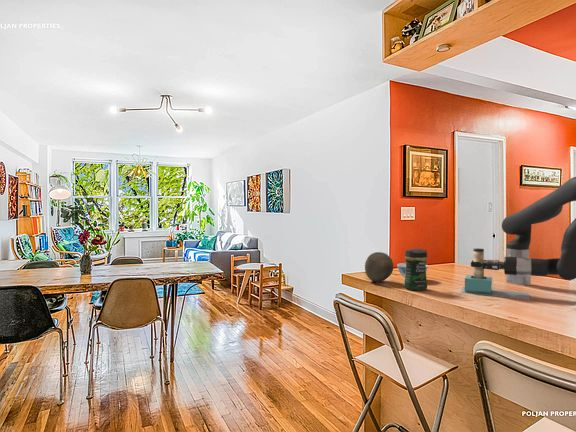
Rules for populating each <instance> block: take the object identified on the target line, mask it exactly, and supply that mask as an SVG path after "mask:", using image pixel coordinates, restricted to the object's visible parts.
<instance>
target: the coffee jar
mask: <svg viewBox="0 0 576 432" xmlns="http://www.w3.org/2000/svg"><path fill="white" fill-rule="evenodd" d="M404 259H405V263H406V275H405V277H404V278H405V279H404V288H405V289H406V290H411V291H425V290H427V289H428V278H427V271H426V265H427V260H428V251H427V250H426V249H422V248H408V249H406V250H405V254H404Z"/></svg>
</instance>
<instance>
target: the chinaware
mask: <svg viewBox="0 0 576 432" xmlns="http://www.w3.org/2000/svg"><path fill="white" fill-rule="evenodd" d="M396 266H397V270H398V272H399V274H400V275H401V276H402V277H403V278H405V275H406V262H402V263H397V265H396ZM428 267H429V265H428V264H426V272H427V271H428Z"/></svg>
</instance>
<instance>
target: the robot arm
mask: <svg viewBox="0 0 576 432" xmlns="http://www.w3.org/2000/svg"><path fill="white" fill-rule="evenodd" d="M572 202H576V176H574V177H571V178H570V179H568V180H567V181H565V182H563V184H561V185H560V186H559V187H557V188H556V189H555V190H553V191H552V192H550V193H548V194H547V195H545V196H543V197H542V198H539V199H537V200H536V201H534V202H533V203H531V204H529V205H527V206H526V207H524V208H523V209H520V210H519V211H517V212H514V213H512V214H510V215H507V216H506V217H505V218H504V219H503V220H502V223H501V229H502V231H503V232H504V233H505V234H507V235H509V236H510V235H511V236H513V235H514V236H515V235H516V237H515V238H514V239H512V240H510V241H508V242H507V243H506V256H504V259H503V261H500V259H484V262H473V260H472V261H470V267H471V268H473V267H481V268H482V269H484V270H492V271H500V270H503V272H504V275H506V277H505V278H506V279H505V280H506V284H512V285H520V286H524V287H528V286H531V277H547V276H549V275H550V276H551V275H552V276H559V278H561V279H563V280H565V281H573V280H575V279H576V217H575V218H574V219H573V221H571V222H570V224H569V225H568V226H567V228H566V229H565V231H564V234H563V237H562V240H561V241H562V242H561V245H560V253H561V254H560V257H559V258H558V257H555V258H547V259H546V258H545V259H544V258H530V244H531V241H532V225H536V224H541V223H545V222H547V221H549V220H551V219H554V218H556V217H557V216H559V215H560V214H561V213H562V211H563V207H564V205H566V204H569V203H572Z"/></svg>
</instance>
